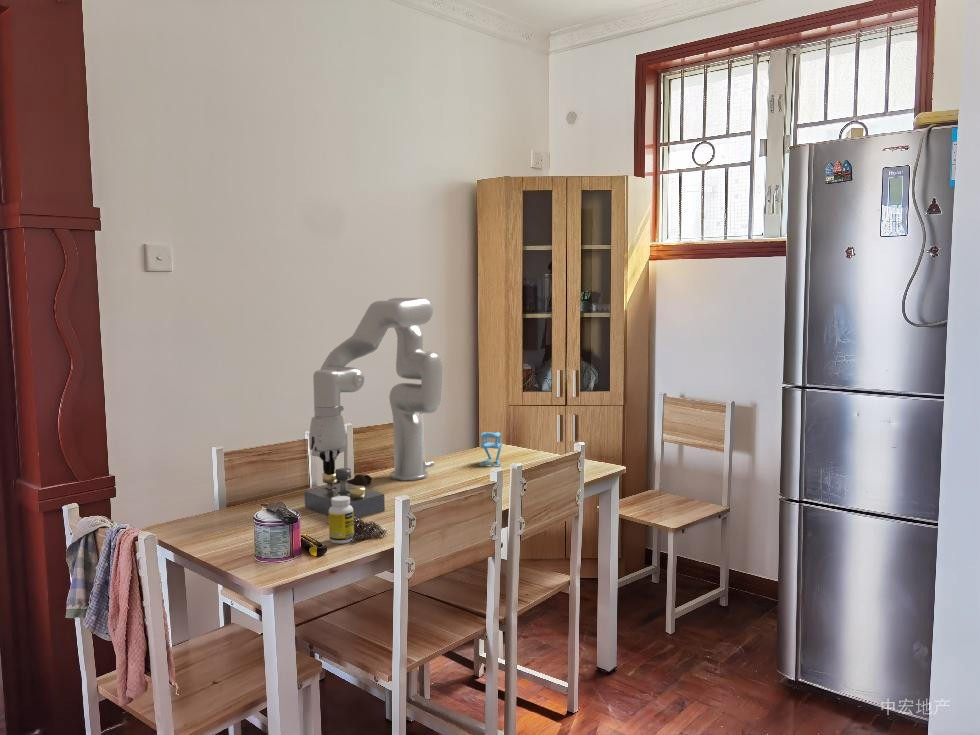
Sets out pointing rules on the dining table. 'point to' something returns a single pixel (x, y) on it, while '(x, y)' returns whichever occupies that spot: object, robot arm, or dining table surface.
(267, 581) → the dining table surface
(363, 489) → the knob
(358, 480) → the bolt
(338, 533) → the pill bottle
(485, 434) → the chair
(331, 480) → the knob
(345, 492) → the knob middle
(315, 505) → the mount
